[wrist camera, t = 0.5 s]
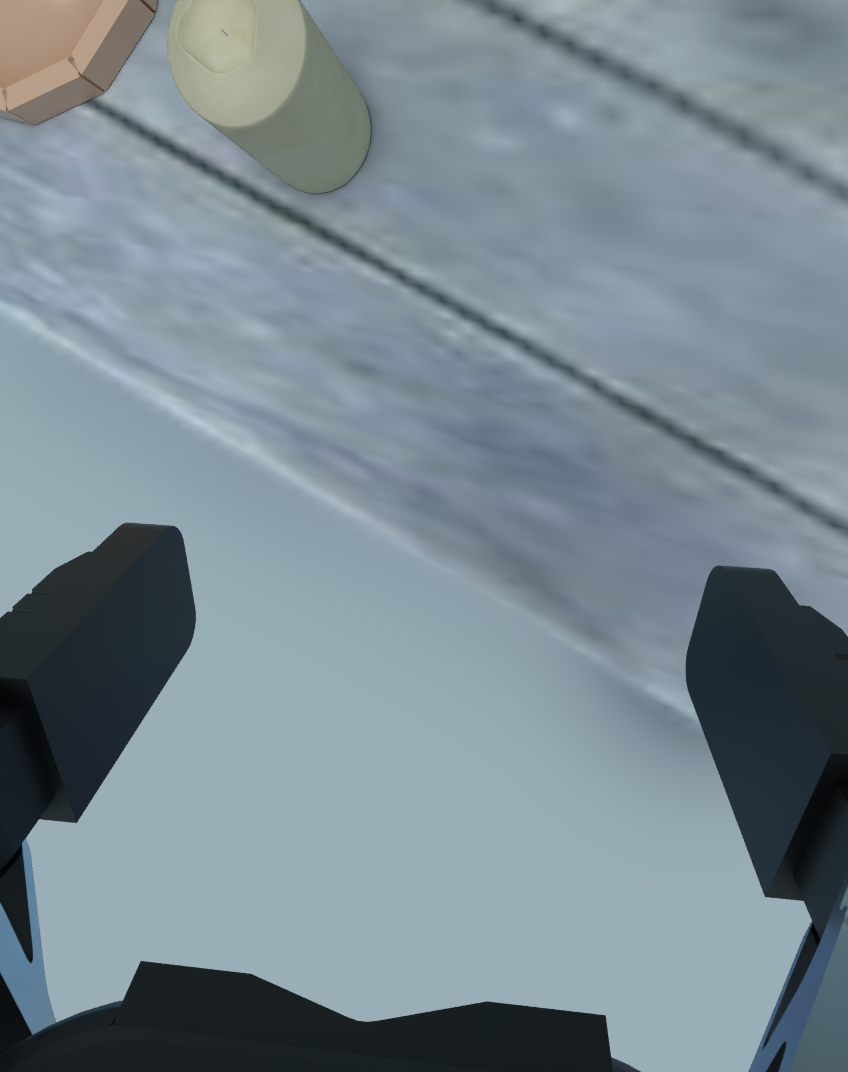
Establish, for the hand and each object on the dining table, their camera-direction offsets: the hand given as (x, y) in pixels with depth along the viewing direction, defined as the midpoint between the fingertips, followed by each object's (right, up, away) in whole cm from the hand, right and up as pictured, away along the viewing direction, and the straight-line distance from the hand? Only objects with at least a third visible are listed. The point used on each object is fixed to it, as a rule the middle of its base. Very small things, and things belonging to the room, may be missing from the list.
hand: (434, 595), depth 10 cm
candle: (-5, +21, +22) cm, 31 cm away
